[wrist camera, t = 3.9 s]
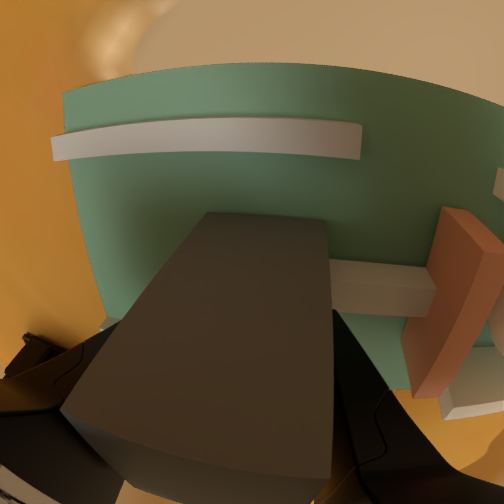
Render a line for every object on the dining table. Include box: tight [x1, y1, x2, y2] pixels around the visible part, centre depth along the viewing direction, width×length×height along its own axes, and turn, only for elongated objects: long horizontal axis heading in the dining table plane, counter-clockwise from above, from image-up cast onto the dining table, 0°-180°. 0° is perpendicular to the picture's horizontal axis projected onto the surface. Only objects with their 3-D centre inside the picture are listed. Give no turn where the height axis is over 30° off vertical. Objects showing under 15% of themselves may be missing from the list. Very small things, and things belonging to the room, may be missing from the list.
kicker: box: [60, 206, 504, 504], centre depth 7 cm, size 6×9×8 cm, turn 90°
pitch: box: [51, 63, 504, 421], centre depth 9 cm, size 14×24×4 cm, turn 90°
